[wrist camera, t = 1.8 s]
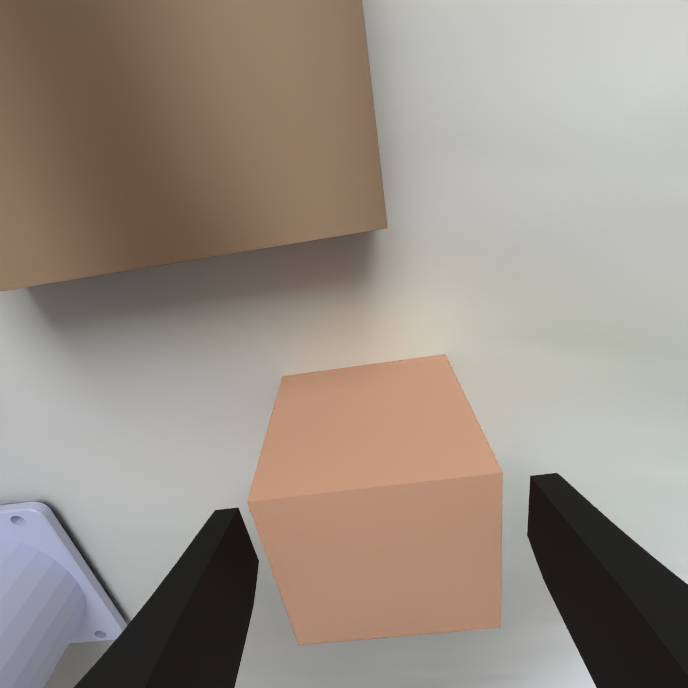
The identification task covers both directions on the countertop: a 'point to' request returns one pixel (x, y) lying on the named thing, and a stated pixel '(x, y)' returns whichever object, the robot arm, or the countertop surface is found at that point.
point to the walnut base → (180, 132)
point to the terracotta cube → (380, 504)
